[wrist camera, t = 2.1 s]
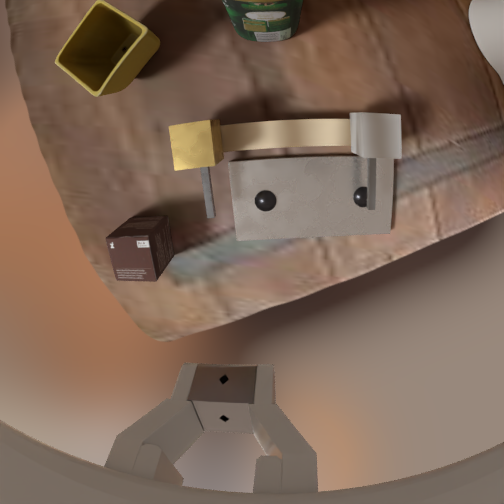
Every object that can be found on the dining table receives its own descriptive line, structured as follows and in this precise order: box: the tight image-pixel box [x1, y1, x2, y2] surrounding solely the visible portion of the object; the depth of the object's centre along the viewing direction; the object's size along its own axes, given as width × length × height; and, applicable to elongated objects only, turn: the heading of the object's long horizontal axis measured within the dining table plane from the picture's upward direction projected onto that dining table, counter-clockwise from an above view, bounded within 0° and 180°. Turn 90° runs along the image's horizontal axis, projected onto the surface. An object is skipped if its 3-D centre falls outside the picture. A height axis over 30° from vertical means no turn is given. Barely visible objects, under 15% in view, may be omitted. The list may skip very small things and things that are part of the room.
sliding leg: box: [169, 120, 224, 218], centre depth 30 cm, size 4×11×5 cm, turn 5°
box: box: [106, 216, 174, 281], centre depth 37 cm, size 6×6×7 cm
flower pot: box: [55, 0, 160, 97], centre depth 25 cm, size 9×9×9 cm
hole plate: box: [228, 155, 394, 241], centre depth 35 cm, size 20×10×1 cm, turn 95°
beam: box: [220, 112, 401, 210], centre depth 30 cm, size 24×11×8 cm, turn 95°
